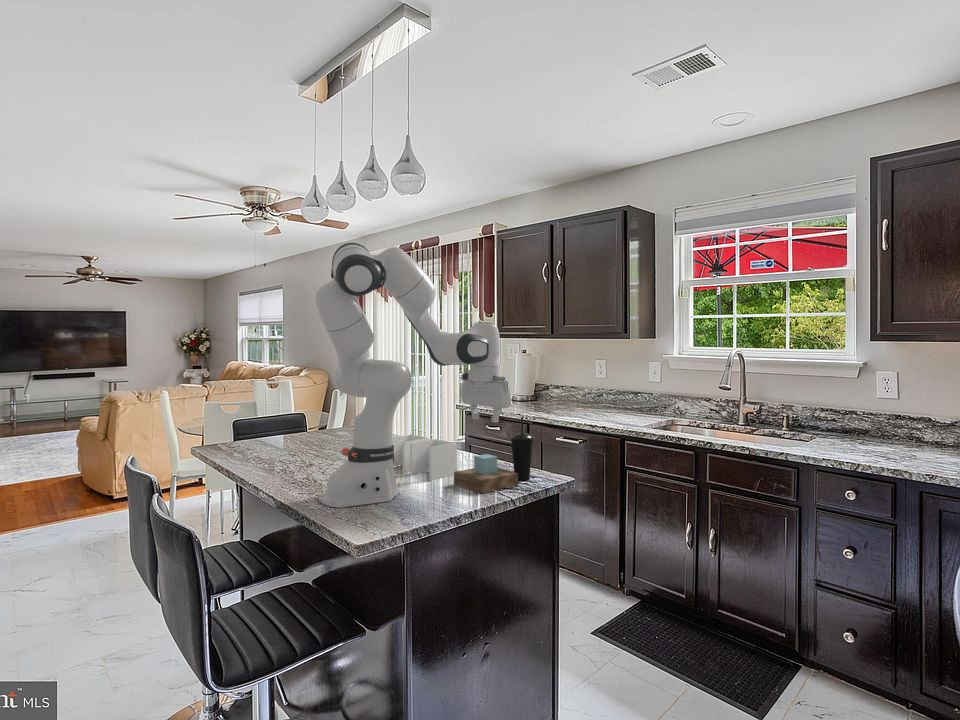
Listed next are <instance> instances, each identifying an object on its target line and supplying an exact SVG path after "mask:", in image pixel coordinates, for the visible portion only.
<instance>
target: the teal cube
mask: <svg viewBox="0 0 960 720" xmlns="http://www.w3.org/2000/svg"><path fill="white" fill-rule="evenodd" d="M473 457H474V461H473V462H474V467H473V468H474V472H475V473H479V474H482V475H488V474H493V473H497V468H498V456H496V455H492V454H488V453H486V454H485V453H484V454H480V455H479V454H478V455H474V456H473Z"/></svg>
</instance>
